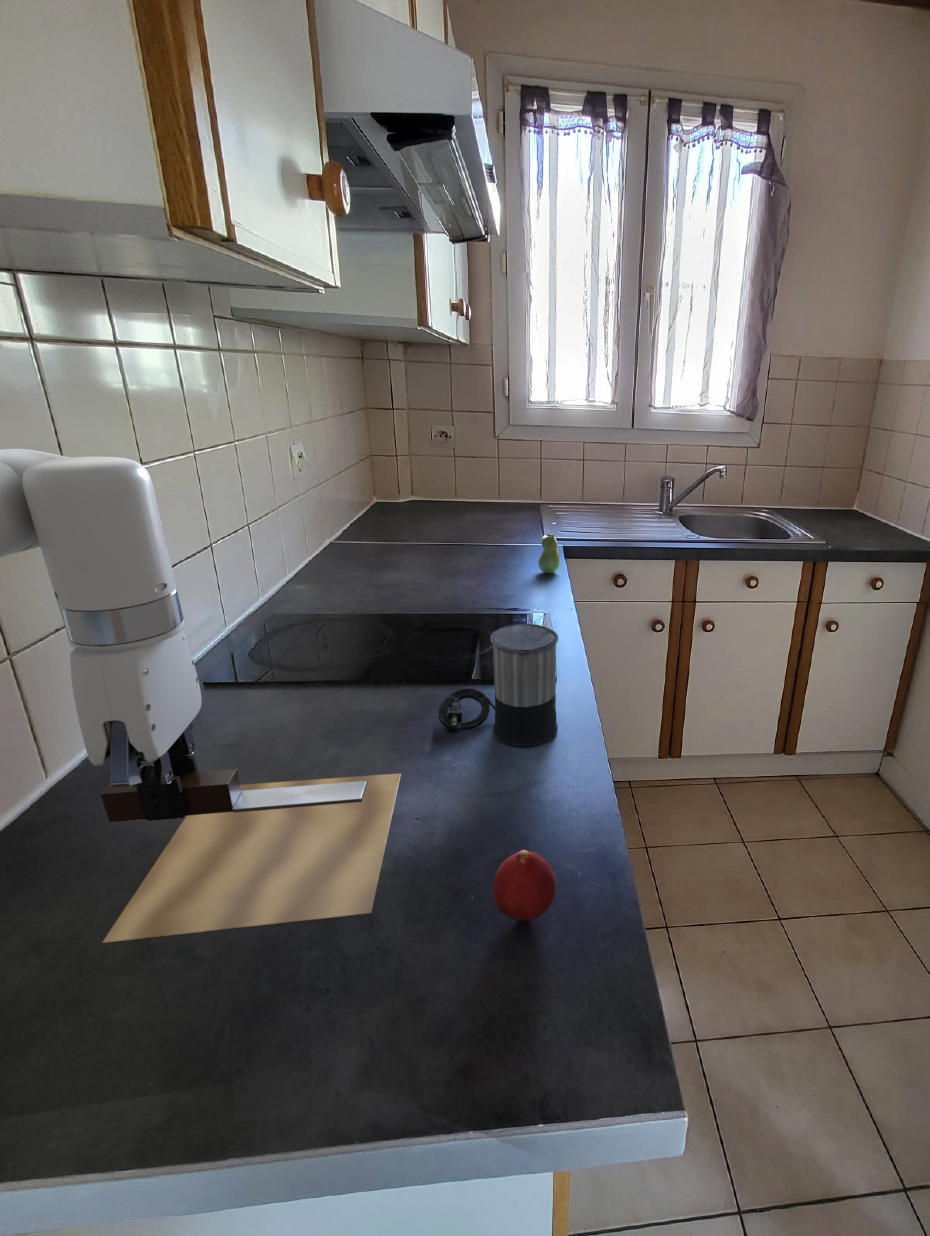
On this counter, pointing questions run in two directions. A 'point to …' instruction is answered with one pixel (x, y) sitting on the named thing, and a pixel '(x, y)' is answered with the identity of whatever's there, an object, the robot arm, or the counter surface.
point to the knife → (231, 796)
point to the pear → (549, 555)
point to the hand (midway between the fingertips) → (175, 804)
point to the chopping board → (265, 866)
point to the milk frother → (515, 688)
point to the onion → (524, 886)
